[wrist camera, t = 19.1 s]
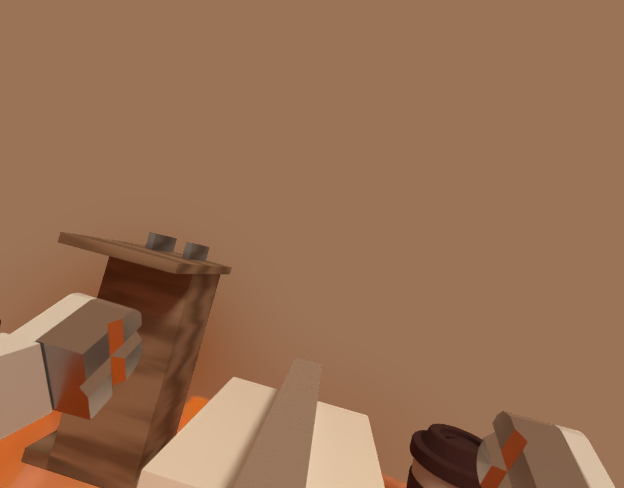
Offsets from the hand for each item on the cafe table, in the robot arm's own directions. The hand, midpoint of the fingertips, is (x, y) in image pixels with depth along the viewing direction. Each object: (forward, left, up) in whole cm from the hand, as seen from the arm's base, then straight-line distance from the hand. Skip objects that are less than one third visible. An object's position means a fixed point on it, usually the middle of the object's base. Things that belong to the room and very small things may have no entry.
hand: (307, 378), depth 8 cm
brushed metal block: (+14, -13, -10) cm, 22 cm away
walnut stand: (+38, -10, -26) cm, 48 cm away
